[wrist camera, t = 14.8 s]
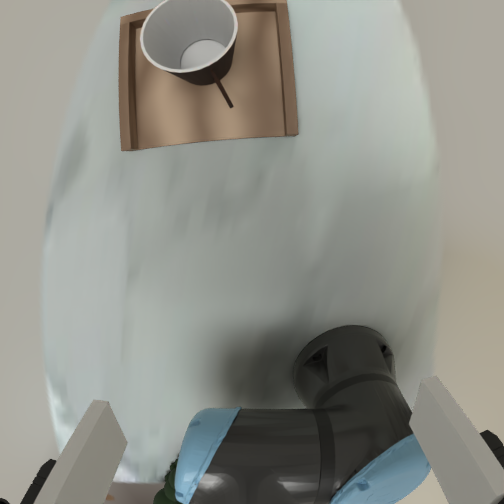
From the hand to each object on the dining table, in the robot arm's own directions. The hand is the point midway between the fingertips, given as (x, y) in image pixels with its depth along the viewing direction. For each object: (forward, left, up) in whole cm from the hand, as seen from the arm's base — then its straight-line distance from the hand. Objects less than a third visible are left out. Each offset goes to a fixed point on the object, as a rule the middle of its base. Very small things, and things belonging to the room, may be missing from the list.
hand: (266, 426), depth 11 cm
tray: (+5, -21, -28) cm, 35 cm away
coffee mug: (+5, -21, -27) cm, 34 cm away
